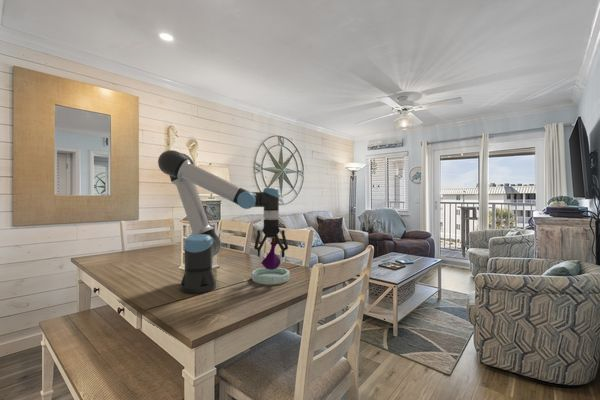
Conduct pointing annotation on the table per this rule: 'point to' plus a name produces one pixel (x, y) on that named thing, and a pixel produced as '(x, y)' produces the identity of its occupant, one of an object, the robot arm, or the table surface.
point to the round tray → (270, 276)
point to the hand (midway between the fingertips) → (271, 263)
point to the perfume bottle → (271, 257)
